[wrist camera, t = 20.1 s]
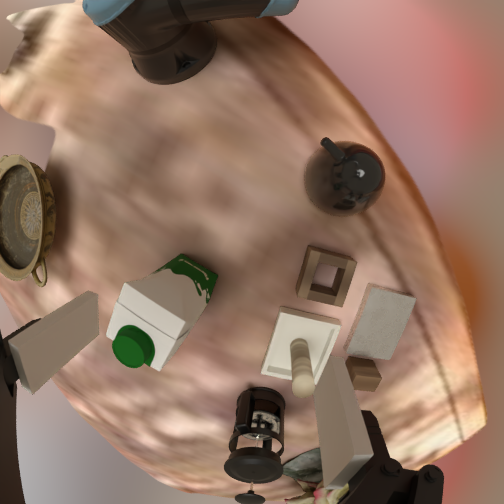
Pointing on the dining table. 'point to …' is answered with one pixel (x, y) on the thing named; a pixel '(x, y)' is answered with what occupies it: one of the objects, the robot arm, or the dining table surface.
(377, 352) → the plate
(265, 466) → the french press
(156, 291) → the milk carton
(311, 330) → the tray
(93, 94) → the dining table surface
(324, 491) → the rose bouquet
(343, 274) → the socket block
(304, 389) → the dowel
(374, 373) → the wooden block
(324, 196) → the pump dispenser
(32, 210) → the ceramic bowl
